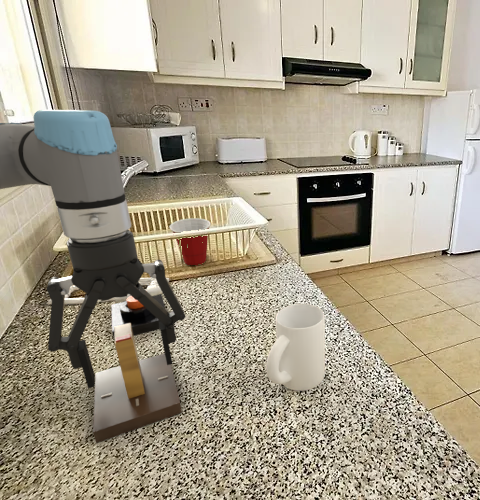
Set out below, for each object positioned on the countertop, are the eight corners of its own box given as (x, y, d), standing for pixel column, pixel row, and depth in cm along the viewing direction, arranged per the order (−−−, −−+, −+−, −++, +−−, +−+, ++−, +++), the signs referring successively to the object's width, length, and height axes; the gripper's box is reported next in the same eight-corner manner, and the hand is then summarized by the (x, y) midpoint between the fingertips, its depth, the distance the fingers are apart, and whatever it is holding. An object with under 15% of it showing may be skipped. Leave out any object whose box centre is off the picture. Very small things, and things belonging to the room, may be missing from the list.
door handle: (167, 298, 89) (42, 314, 81) (171, 281, 98) (58, 293, 90) (166, 288, 88) (38, 303, 80) (170, 272, 97) (55, 283, 89)
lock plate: (98, 382, 62) (95, 371, 62) (169, 361, 68) (167, 351, 67) (96, 443, 51) (92, 431, 50) (182, 412, 57) (180, 401, 56)
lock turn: (127, 379, 60) (113, 325, 56) (142, 374, 61) (130, 321, 58) (128, 399, 56) (114, 342, 52) (144, 394, 57) (132, 337, 54)
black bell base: (113, 313, 83) (109, 297, 81) (163, 302, 87) (160, 287, 86) (114, 341, 73) (109, 323, 72) (169, 327, 78) (166, 310, 77)
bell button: (127, 303, 79) (125, 296, 79) (146, 299, 81) (145, 292, 81) (128, 311, 77) (126, 303, 76) (147, 306, 78) (146, 299, 78)
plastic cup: (174, 272, 103) (167, 231, 99) (176, 258, 112) (170, 219, 108) (216, 267, 107) (211, 227, 102) (214, 253, 116) (209, 216, 112)
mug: (251, 392, 61) (245, 330, 57) (297, 354, 70) (295, 298, 66) (289, 414, 57) (286, 348, 52) (333, 370, 66) (334, 312, 62)
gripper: (-21, 258, 41) (36, 414, 49) (194, 229, 52) (212, 361, 60) (-5, 238, 47) (44, 380, 55) (185, 216, 58) (202, 337, 66)
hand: (131, 370), depth 58 cm, fingers open, 10 cm apart
